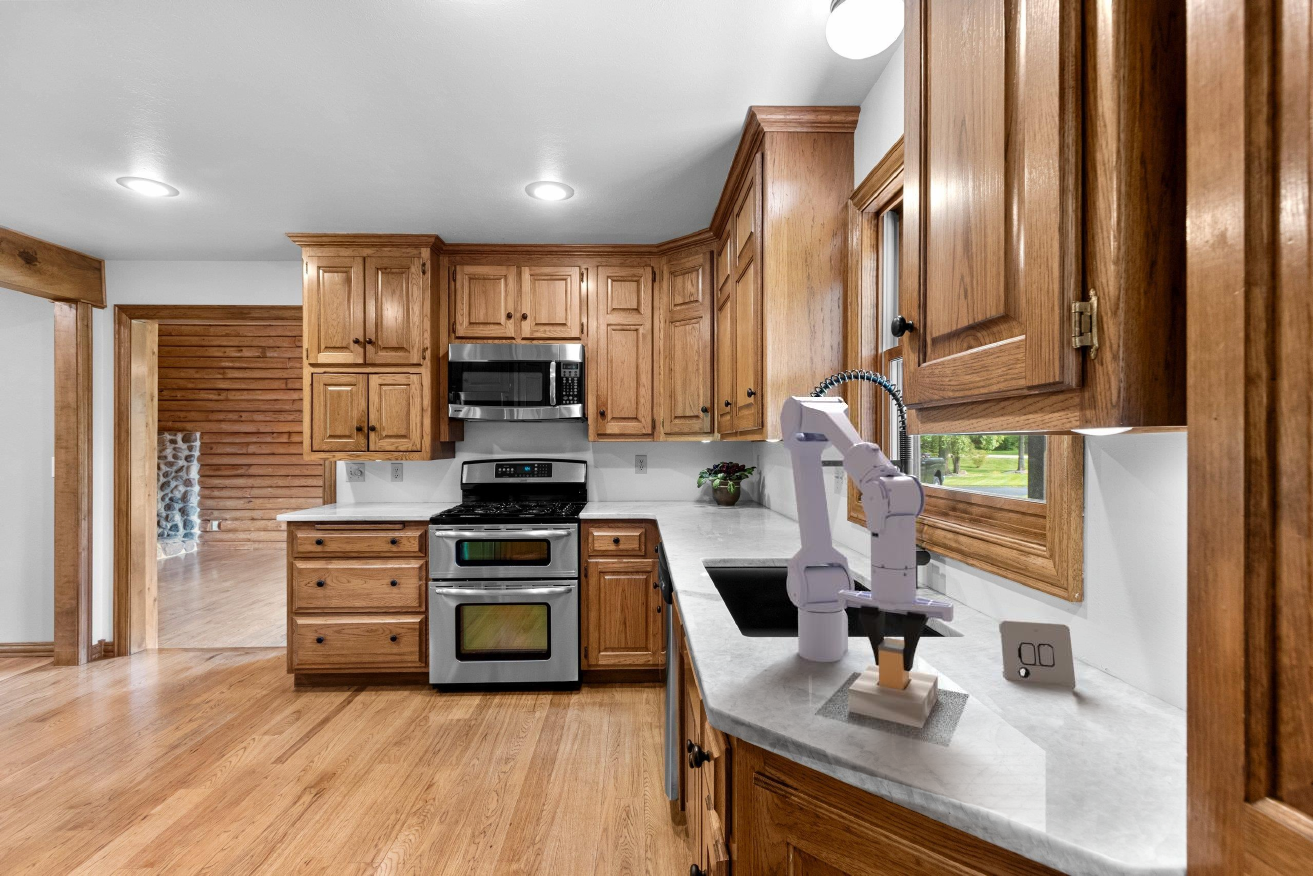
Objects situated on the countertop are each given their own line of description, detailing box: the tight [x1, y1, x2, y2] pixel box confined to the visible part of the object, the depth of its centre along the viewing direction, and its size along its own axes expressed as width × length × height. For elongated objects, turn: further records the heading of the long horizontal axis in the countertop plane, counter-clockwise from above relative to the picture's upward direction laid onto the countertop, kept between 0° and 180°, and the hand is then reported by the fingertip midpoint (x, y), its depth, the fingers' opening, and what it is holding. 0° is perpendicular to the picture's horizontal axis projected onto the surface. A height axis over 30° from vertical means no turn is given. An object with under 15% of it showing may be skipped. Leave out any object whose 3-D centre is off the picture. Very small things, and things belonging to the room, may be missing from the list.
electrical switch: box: [998, 620, 1077, 690], centre depth 95 cm, size 9×5×9 cm, turn 74°
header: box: [815, 663, 970, 748], centre depth 84 cm, size 18×16×4 cm
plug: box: [878, 637, 909, 691], centre depth 85 cm, size 4×3×7 cm
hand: (894, 666), depth 85 cm, fingers closed on plug, 3 cm apart
